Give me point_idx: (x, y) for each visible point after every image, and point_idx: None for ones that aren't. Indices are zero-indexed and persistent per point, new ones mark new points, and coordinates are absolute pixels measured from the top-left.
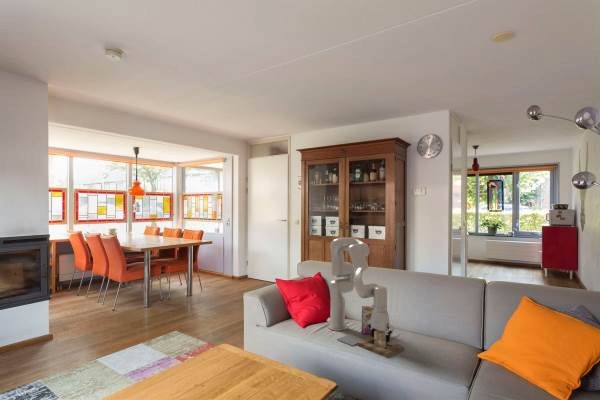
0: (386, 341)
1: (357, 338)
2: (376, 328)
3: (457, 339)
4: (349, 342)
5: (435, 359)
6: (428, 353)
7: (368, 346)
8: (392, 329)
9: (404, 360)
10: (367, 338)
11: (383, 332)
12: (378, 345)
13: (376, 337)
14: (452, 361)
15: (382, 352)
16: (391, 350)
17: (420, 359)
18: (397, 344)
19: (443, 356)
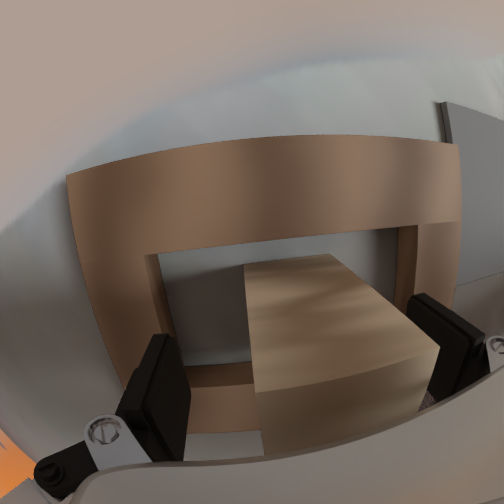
0: (154, 338)
1: (490, 254)
2: (437, 419)
3: None
4: (482, 137)
5: (15, 399)
6: (71, 438)
7: (329, 135)
8: (6, 502)
9: (13, 265)
10: (448, 300)
11: (269, 454)
12: (281, 272)
13: (345, 308)
14: (5, 416)
15: (115, 162)
16: (97, 285)
17: (14, 355)
18: (188, 425)
19: (40, 439)
